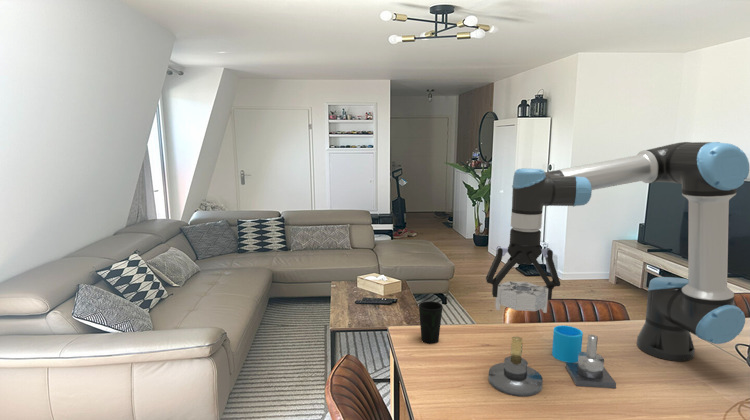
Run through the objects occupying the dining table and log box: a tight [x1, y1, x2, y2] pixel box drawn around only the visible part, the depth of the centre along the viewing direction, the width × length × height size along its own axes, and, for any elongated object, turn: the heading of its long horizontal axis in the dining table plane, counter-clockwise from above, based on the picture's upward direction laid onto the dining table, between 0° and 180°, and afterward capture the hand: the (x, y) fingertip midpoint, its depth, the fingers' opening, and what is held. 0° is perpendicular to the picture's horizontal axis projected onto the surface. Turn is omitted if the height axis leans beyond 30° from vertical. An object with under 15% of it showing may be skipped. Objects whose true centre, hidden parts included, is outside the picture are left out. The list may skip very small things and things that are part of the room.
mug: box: [551, 324, 584, 363], centre depth 138 cm, size 12×8×8 cm
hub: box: [487, 336, 544, 398], centre depth 121 cm, size 14×14×12 cm
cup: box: [418, 300, 443, 345], centre depth 147 cm, size 8×8×12 cm
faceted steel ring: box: [500, 280, 546, 312], centre depth 118 cm, size 11×11×4 cm
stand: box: [565, 334, 617, 389], centre depth 124 cm, size 10×10×12 cm
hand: (520, 309), depth 119 cm, fingers closed on faceted steel ring, 11 cm apart
